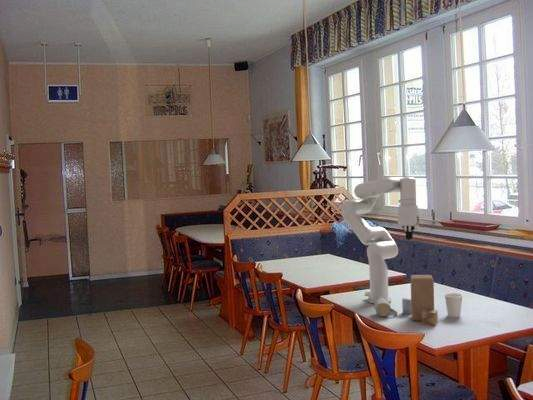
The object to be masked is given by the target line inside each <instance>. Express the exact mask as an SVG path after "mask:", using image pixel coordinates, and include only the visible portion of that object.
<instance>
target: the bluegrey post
mask: <svg viewBox="0 0 533 400" xmlns="http://www.w3.org/2000/svg"><path fill="white" fill-rule="evenodd" d="M401 300H402V301H401V303H402V304H401V305H402V306H401V307H402V314H403V315H409V316H410V315H412V314H411V297H404V298H402V299H401Z"/></svg>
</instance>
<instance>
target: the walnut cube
mask: <svg viewBox="0 0 533 400" xmlns="http://www.w3.org/2000/svg"><path fill="white" fill-rule="evenodd" d="M438 316H439V315H438V309H434V310H431V309H424V310H423V311H422V321H421V325H422V326H427V325H430V326H431V327H436V326H437V325H438V323H439V322H438V320H439V319H438ZM436 324H437V325H436ZM430 326H429V327H430Z"/></svg>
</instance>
